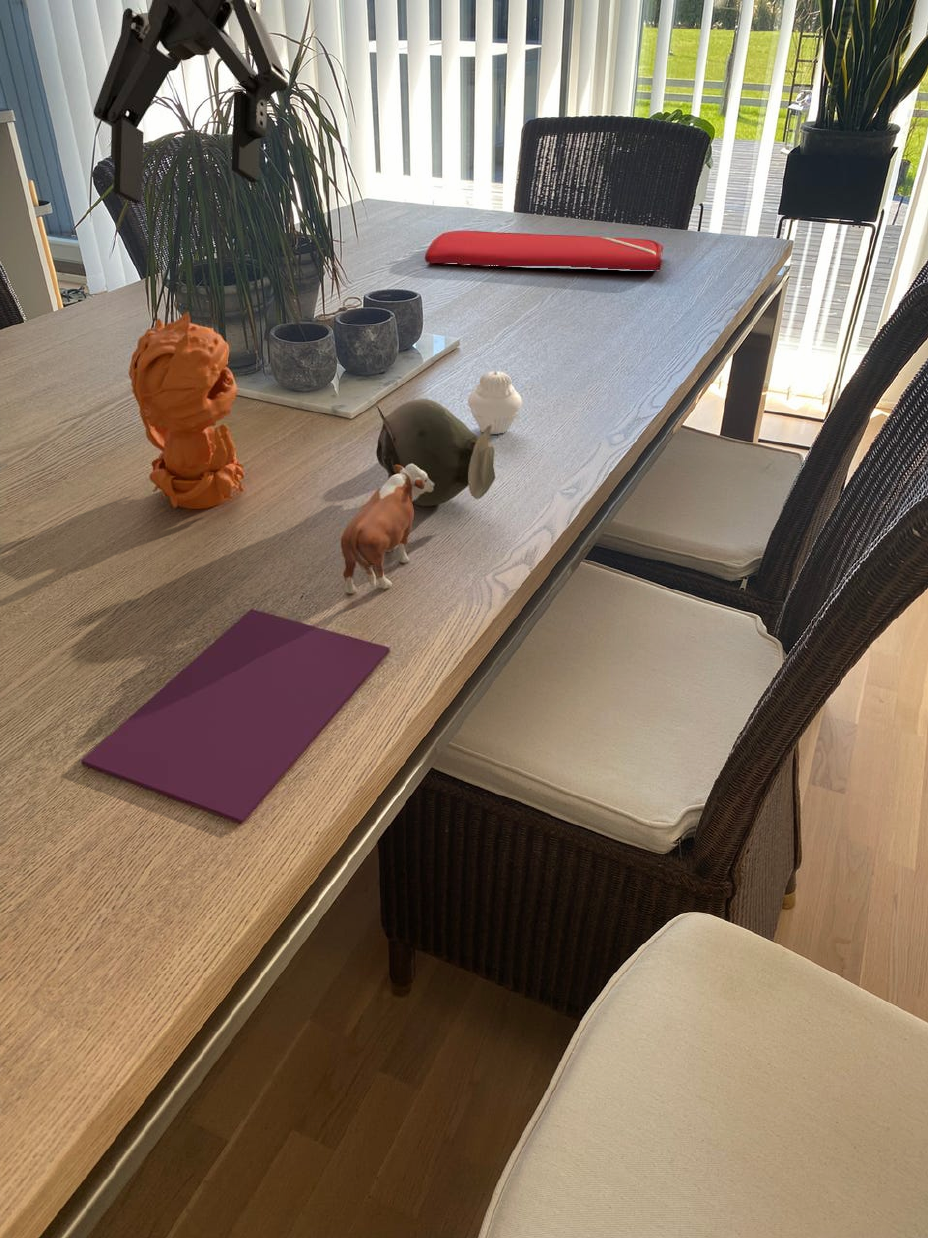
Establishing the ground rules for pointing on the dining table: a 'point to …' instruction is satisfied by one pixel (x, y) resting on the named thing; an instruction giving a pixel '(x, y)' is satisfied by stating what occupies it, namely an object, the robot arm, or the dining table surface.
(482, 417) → the muffin
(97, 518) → the dining table surface
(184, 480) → the orange character figurine
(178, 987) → the dining table surface
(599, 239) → the dish drying mat
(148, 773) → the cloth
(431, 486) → the bull figurine
